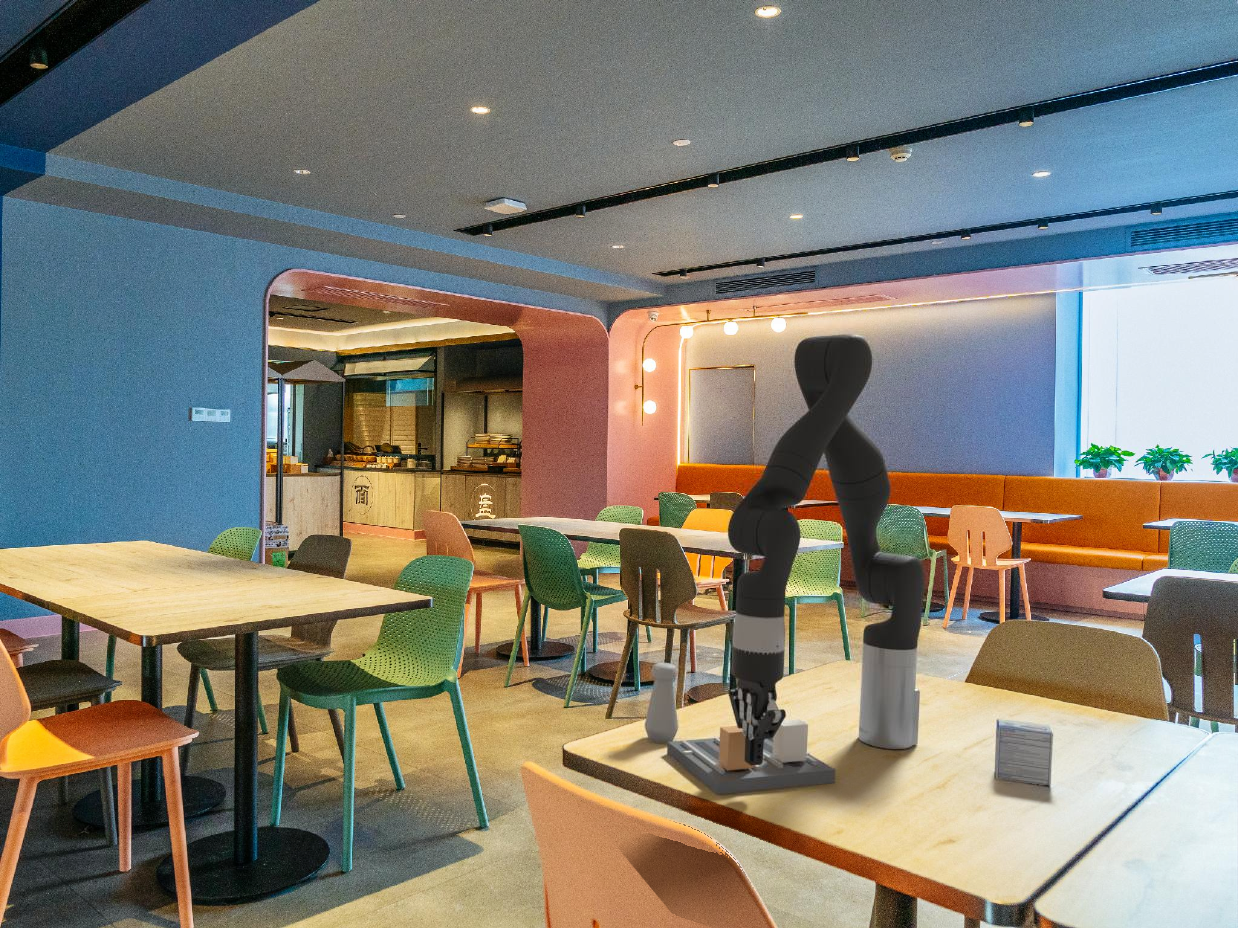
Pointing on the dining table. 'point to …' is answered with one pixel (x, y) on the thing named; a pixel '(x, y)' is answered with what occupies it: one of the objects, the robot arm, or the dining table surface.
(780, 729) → the fader
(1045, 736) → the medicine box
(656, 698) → the salt shaker
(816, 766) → the console
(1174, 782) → the dining table surface
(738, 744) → the block
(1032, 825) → the dining table surface
